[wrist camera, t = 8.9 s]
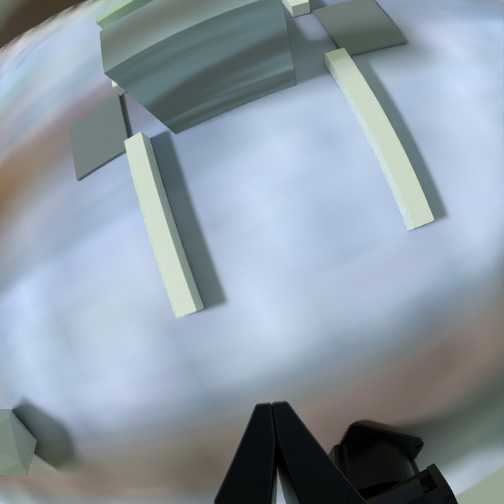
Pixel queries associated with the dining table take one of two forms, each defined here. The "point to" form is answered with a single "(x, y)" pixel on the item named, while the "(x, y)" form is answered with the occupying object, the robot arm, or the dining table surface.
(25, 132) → the dining table surface
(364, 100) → the pale green open frame
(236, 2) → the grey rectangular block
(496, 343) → the dining table surface
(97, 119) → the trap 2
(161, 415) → the dining table surface
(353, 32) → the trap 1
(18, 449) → the die
